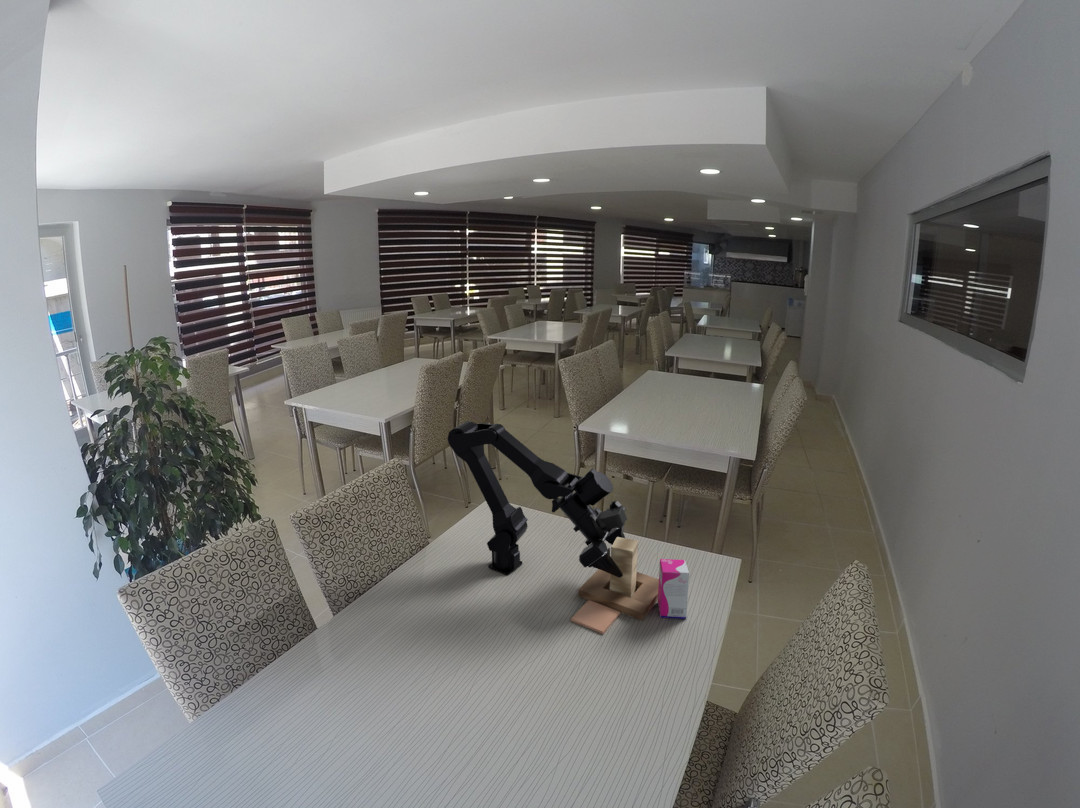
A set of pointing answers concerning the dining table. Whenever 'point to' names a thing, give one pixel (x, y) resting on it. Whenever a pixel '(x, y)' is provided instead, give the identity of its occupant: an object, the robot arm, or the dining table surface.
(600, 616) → the terracotta tile
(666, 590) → the supplement box
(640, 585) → the pocket board
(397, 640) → the dining table surface
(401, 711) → the dining table surface
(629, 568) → the maple block
